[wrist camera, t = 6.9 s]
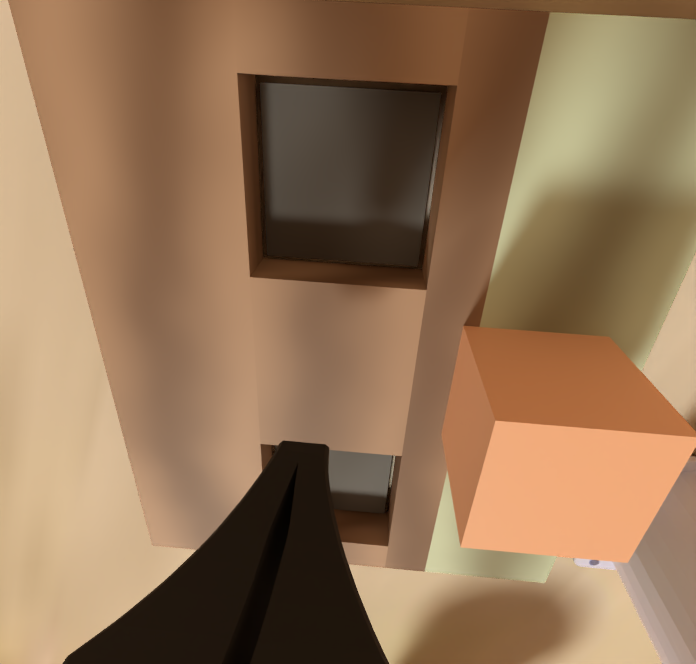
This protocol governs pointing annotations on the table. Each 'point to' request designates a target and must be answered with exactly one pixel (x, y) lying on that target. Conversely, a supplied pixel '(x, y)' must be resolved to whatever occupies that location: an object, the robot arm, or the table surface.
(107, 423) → the table surface
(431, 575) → the table surface
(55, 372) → the table surface
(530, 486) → the block
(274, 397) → the trap board
